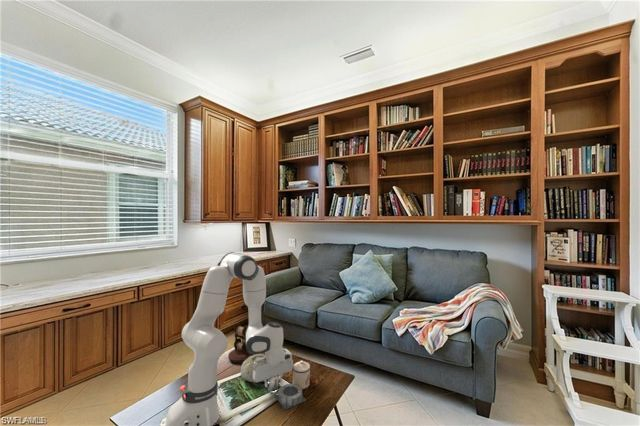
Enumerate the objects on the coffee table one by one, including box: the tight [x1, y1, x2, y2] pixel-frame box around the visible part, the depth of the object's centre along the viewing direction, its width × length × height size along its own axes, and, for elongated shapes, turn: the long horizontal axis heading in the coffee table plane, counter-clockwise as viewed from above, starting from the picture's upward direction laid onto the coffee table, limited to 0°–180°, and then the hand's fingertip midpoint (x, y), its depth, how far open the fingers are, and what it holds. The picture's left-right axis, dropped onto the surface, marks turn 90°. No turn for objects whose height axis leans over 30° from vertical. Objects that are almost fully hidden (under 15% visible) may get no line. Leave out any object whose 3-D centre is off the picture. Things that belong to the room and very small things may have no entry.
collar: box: [275, 383, 307, 411], centre depth 125 cm, size 11×11×3 cm
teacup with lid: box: [292, 360, 311, 390], centre depth 138 cm, size 12×9×12 cm
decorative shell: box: [240, 353, 265, 384], centre depth 141 cm, size 18×18×10 cm
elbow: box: [267, 375, 279, 391], centre depth 131 cm, size 5×6×7 cm
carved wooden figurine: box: [227, 322, 255, 365], centre depth 160 cm, size 15×15×20 cm
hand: (273, 384), depth 131 cm, fingers closed on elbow, 5 cm apart
